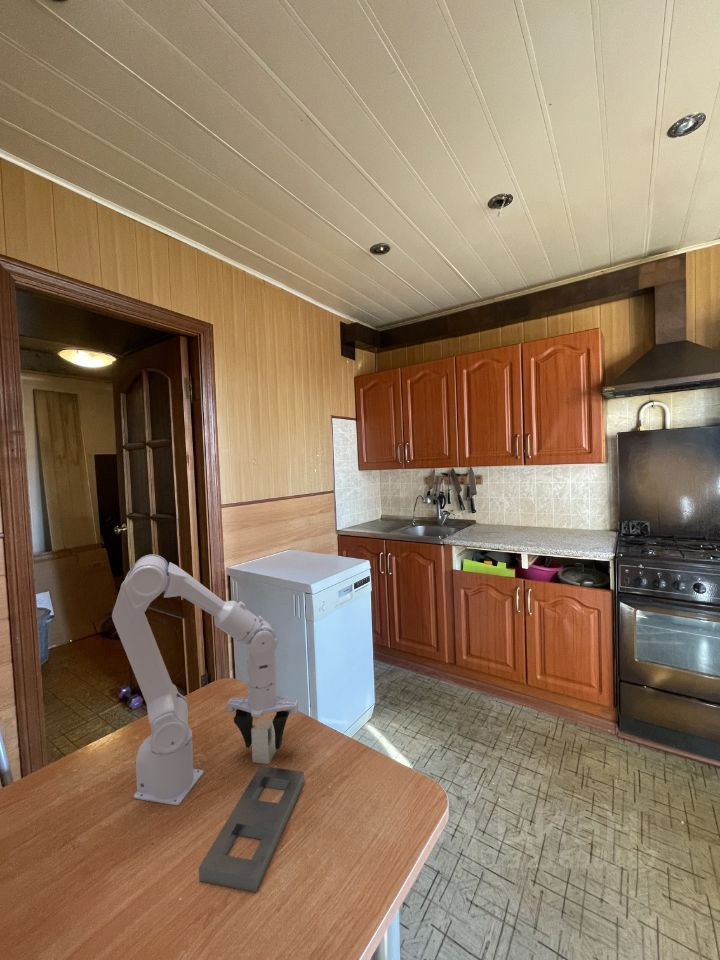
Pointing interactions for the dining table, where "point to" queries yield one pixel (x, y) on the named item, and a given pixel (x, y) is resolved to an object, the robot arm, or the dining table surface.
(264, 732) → the grey square peg
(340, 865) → the dining table surface
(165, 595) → the robot arm
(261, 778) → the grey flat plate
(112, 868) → the dining table surface
